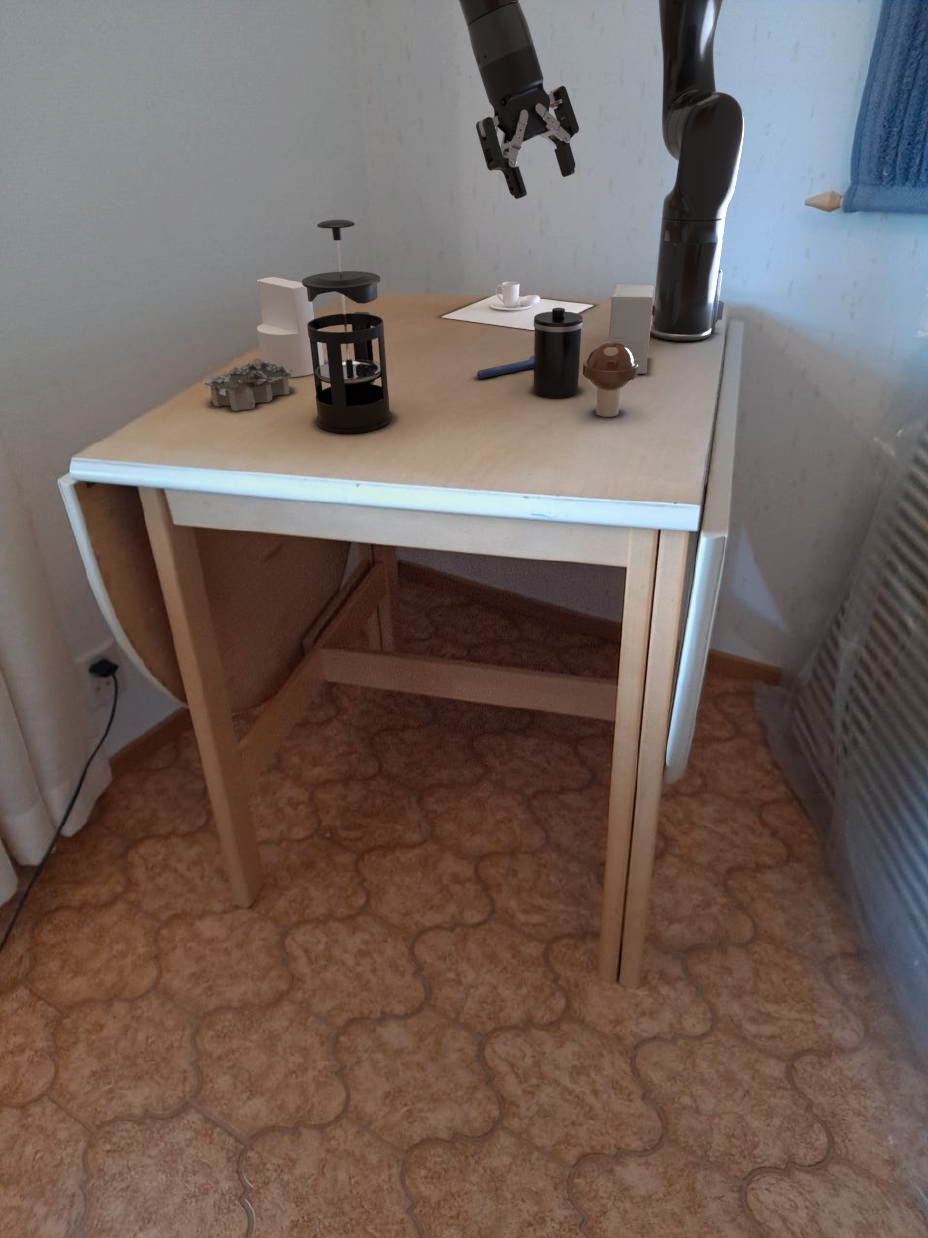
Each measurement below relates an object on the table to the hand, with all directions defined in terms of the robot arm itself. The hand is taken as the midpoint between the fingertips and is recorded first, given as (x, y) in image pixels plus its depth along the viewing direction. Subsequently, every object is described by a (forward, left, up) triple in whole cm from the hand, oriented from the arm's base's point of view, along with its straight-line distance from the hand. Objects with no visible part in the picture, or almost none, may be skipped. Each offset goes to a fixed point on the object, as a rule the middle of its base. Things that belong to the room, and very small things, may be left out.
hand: (545, 185), depth 118 cm
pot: (+8, +15, -23) cm, 29 cm away
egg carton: (+43, -7, -23) cm, 50 cm away
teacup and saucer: (-13, -24, -23) cm, 36 cm away
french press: (+35, +9, -23) cm, 43 cm away
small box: (-7, +12, -23) cm, 27 cm away
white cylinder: (+33, -16, -23) cm, 44 cm away
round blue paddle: (+7, +5, -23) cm, 24 cm away
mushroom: (+8, +26, -23) cm, 35 cm away
